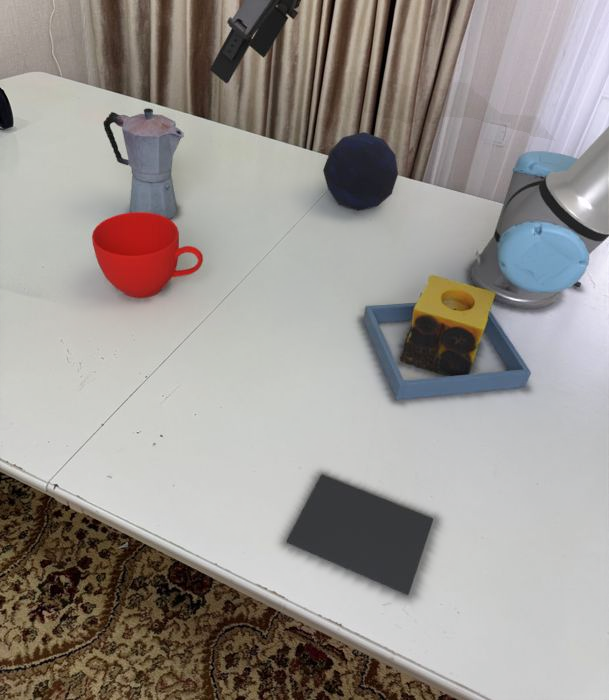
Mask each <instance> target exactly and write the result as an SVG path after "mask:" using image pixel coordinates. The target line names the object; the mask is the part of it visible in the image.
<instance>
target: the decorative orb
mask: <svg viewBox="0 0 609 700" xmlns="http://www.w3.org/2000/svg"><path fill="white" fill-rule="evenodd" d="M322 172H323V175H324V176H323V177H324V179H325V183H326V187H327V190H328V191H329V193H330V194H331V195H332V197H333V198H334V200H335V201H336V203H337V204H338V205H340V206H343V207H346V208H349V209H351V210H354V211H362V210H366V209H371V208H374V207H375V208H376V207H378V206H379V205H381V204H382V203H383V202H384V201H386V200H387V199H388V198H389V197H390V196H391V195H392V194H393V191H394V188H395V185H396V182H397V179H398V176H399V171H398V164H397V158H396V153H395V152H394V150H392V148H391V147H390V146H389V144H388V143H387V142H386V140H385V139H384V138H382V137H379V136H376V135H374V134H370V133H367V132H365V131H363V132H359V133H355V134H352V135H347V136H343V137H342V138H341V139H340V140H338V142H336V144H335V145H334V146H333V147H332V148H331V149H330V150H329V153H328V155H327V158H326V161H325V164H324V167H323V170H322Z"/></svg>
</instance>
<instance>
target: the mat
mask: <svg viewBox="0 0 609 700" xmlns="http://www.w3.org/2000/svg"><path fill="white" fill-rule="evenodd" d="M301 511H302V512H301V513H300V515H299V517H298V519H297V520H296V523H295V525H294V526H293V528H292V530H291V532H290V534H289V536H288V538H287V540H286V543H288V544H289V545H292V546H294V547H297V548H298V549H301V550H304V551H306V552H308V553H310V554H313V555H315V556H318V557H319V558H322V559H325V560H327V561H328V562H331V563H334V564H335V565H338V566H339V567H342V568H345V569H347V570H350V571H351V572H354V573H356V574H358V575H361V576H363V577H366V578H367V579H370V580H371V581H372V580H373V581H374V582H377V583H380V584H382V585H384V586H386V587H389V588H392V589H393V590H395V591H397V592H399V593H402V594H405V595H407V596H409V595H410V592H411V588H412V586H413V582H414V579H415V576H416V574H417V571H418V567H419V564H420V562H421V558H422V555H423V553H424V549H425V547H426V543H427V540H428V537H429V534H430V531H431V527H432V525H433V521H434V518H433V517H430V516H428V515H425V514H422V513H420V512H417V511H415V510H413V509H409V508H408V507H405V506H403V505H399V504H397V503H395V502H392V501H390V500H387V499H385V498H382V497H380V496H377V495H375V494H372V493H370V492H367V491H365V490H362V489H359V488H357V487H354V486H352V485H349V484H347V483H346V482H345V483H344V482H342V481H340V480H337V479H335V478H332V477H330V476H327V475H324V474H321V476H320V477H319V478H318V481H317V483H316V484H315V487H314V489H313V490H312V492H311V494H310V496H309V498H308V500H307V502H306V503H305V505H304V508H303V510H301Z"/></svg>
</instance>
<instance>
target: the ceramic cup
mask: <svg viewBox="0 0 609 700" xmlns="http://www.w3.org/2000/svg"><path fill="white" fill-rule="evenodd" d="M179 234H180V233H179V229H178V226H177V225H176V223H175V222H174V221H172V220H171V219H168V218H166V217H163V216H161V215H157V214H153V213H145V212H134V213H130V212H126V213H121V214H116V215H113V216H111V217H109V218H106V219H104V220H103V221H101V222H100V223H98V224H97V225H96V226H95V228H94V229H93V231H92V235H91V241H92V246H93V251H94V254H95V258H96V260H97V264H98V266H99V268H100V270H101V272H102V274H103V275H104V277H105V278H106V280H107V281H108V282H109V283H110V284H111V285H112V286H113V287H115V288H116V289H117V290H118V291H120V292H122V293H123V294H125V295H126V296H128V297H130V298H131V297H132V298H135V299H146V298H151V297H153V296H156V295H157V294H159V293H160V292H161V291H162V290H163V288H165V287H166V286H167V285H168V283H169V282H170V281H171V280H172V278H176V277H177V278H178V277H184V276H189V275H192V274H194V273H196V272H197V271H198V270H199V269H200V268H201V267H202V265H203V262H204V261H203V260H204V257H203V253H202V251H200V249H199V248H198V247H196V246H192V245H185V246H182V247H180V235H179ZM186 253H188V254H193V255H194V256H195V257H196V259H197V263H196V264H194V266H193V267H190V268H185V269H177V266H178V262H179V257H180V256H181V255H182V254H186Z"/></svg>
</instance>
